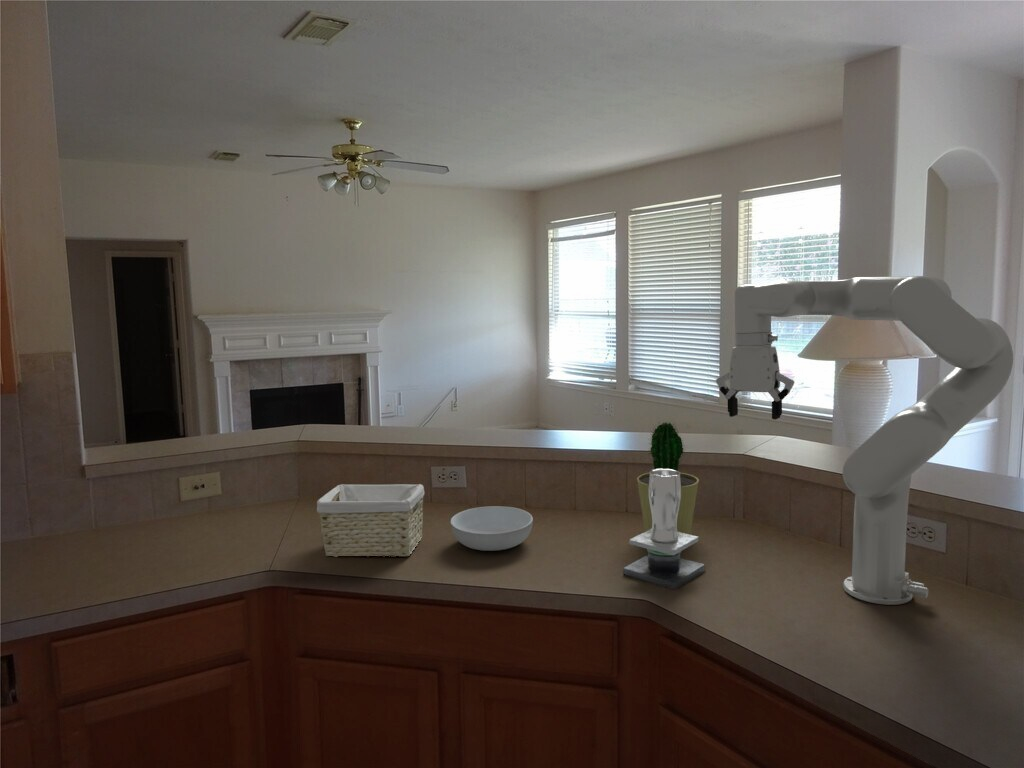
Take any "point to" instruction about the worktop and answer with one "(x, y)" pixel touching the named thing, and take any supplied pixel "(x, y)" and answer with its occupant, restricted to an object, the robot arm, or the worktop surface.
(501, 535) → the serving bowl
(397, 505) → the storage basket
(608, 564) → the worktop surface
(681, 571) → the metal stand
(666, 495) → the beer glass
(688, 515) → the potted cactus
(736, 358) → the robot arm
